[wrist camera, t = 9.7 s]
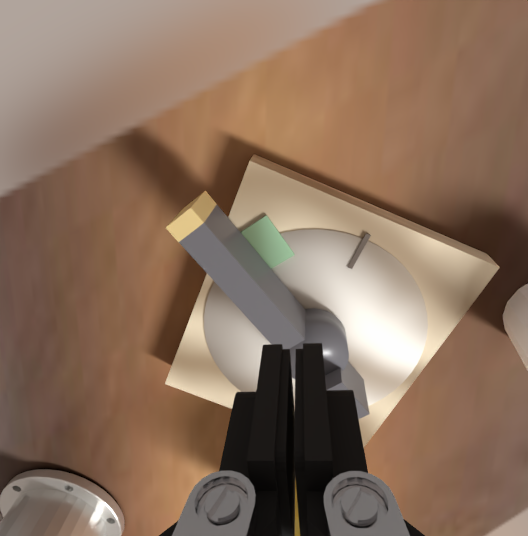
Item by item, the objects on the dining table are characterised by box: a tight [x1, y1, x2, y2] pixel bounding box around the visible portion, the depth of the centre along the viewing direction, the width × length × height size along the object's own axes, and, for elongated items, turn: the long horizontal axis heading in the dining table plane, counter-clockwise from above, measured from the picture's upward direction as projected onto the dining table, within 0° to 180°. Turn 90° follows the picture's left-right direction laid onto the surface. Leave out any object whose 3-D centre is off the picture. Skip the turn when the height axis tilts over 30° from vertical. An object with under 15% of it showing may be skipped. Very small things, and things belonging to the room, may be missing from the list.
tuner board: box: [165, 154, 500, 448], centre depth 29 cm, size 18×16×2 cm
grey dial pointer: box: [166, 191, 370, 419], centre depth 25 cm, size 16×4×3 cm, turn 39°
